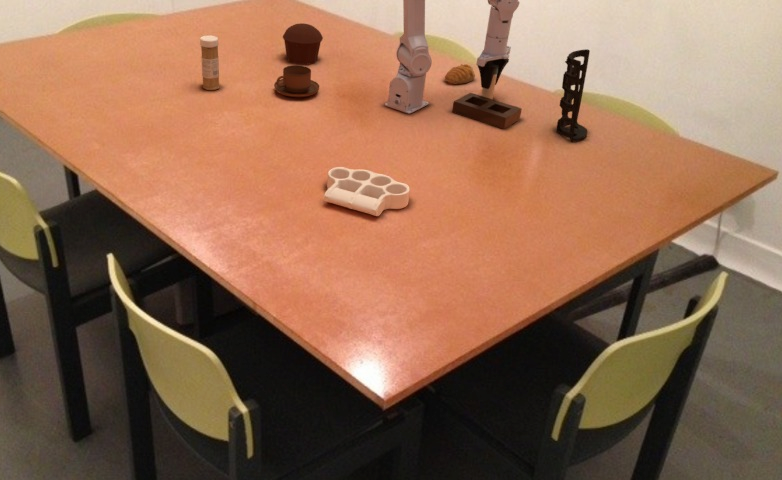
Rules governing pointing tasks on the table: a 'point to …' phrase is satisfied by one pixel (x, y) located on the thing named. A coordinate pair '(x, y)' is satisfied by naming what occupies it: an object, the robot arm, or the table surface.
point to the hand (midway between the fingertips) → (488, 85)
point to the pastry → (460, 74)
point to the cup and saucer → (296, 82)
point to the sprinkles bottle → (210, 62)
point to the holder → (573, 96)
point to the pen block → (487, 110)
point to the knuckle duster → (365, 190)
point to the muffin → (302, 43)
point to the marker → (489, 92)
